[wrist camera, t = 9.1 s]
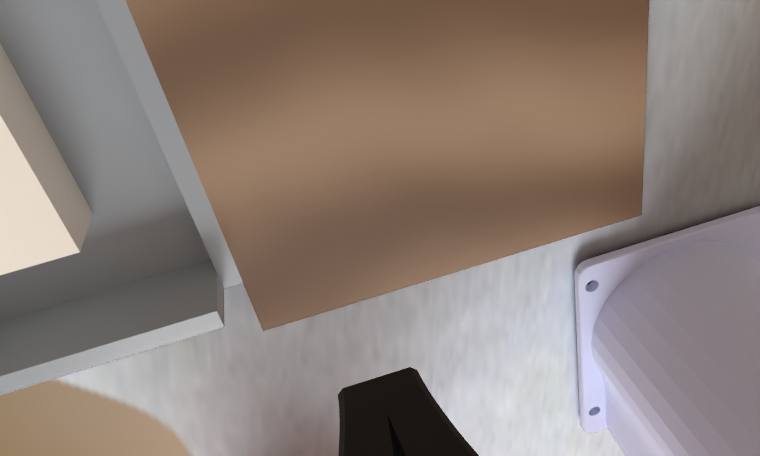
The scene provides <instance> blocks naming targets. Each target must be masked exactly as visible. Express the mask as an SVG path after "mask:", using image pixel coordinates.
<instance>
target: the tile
mask: <svg viewBox="0 0 760 456" xmlns="http://www.w3.org/2000/svg"><path fill="white" fill-rule="evenodd" d="M92 215H93V213H92V211H91V209H90V207H89V205H88V203H87V202H86V200H85V198H84V196H83V194H82V192H81V191H80V189H79V187H78V185H77V183H76V181H75V180H74V178H73V176H72V174H71V172H70V170H69V168H68V167H67V165H66V163H65V161H64V159H63V157H62V156H61V154H60V152H59V150H58V148H57V146H56V145H55V143H54V141H53V139H52V137H51V135H50V134H49V132H48V130H47V128H46V126H45V124H44V122H43V121H42V119H41V117H40V115H39V113H38V111H37V110H36V108H35V106H34V104H33V102H32V100H31V99H30V97H29V95H28V93H27V91H26V89H25V88H24V86H23V84H22V82H21V80H20V78H19V76H18V75H17V73H16V71H15V69H14V67H13V65H12V64H11V62H10V60H9V58H8V56H7V54H6V53H5V51H4V49H3V47H2V45H1V43H0V275H3V274H7V273H10V272H13V271H17V270H20V269H24V268H27V267H31V266H34V265H38V264H41V263H45V262H48V261H51V260H55V259H58V258H62V257H65V256H69V255H72V254H76V253H79V252H80V251H81V248H82V245H83V242H84V239H85V236H86V233H87V230H88V227H89V224H90V221H91V218H92Z"/></svg>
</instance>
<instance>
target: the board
mask: <svg viewBox="0 0 760 456" xmlns="http://www.w3.org/2000/svg"><path fill="white" fill-rule="evenodd" d="M125 1H126V3H127V5H128V8H129V10H130V13H131V15H132V17H133V20H134V22H135V25H136V27H137V29H138V32H139V34H140V37H141V39H142V41H143V44H144V46H145V49H146V51H147V53H148V56H149V58H150V61H151V63H152V65H153V68H154V70H155V73H156V75H157V77H158V80H159V82H160V85H161V87H162V89H163V92H164V94H165V96H166V99H167V101H168V104H169V106H170V108H171V111H172V113H173V116H174V118H175V120H176V123H177V125H178V128H179V130H180V132H181V135H182V137H183V140H184V142H185V144H186V147H187V149H188V152H189V154H190V156H191V159H192V161H193V164H194V166H195V168H196V171H197V173H198V176H199V178H200V180H201V183H202V185H203V188H204V190H205V192H206V195H207V197H208V200H209V202H210V204H211V207H212V209H213V212H214V214H215V216H216V219H217V221H218V224H219V226H220V228H221V231H222V233H223V236H224V238H225V240H226V243H227V245H228V248H229V250H230V252H231V255H232V257H233V260H234V262H235V264H236V267H237V269H238V272H239V274H240V276H241V279H242V281H243V284H244V286H245V288H246V291H247V293H248V296H249V298H250V300H251V303H252V305H253V308H254V310H255V312H256V315H257V317H258V320H259V322H260V324H261V327H262V329H263V331H265V330H268V329H271V328H274V327H278V326H281V325H284V324H288V323H291V322H294V321H297V320H301V319H304V318H307V317H310V316H314V315H317V314H320V313H323V312H327V311H330V310H333V309H336V308H340V307H343V306H346V305H350V304H353V303H356V302H359V301H363V300H366V299H369V298H372V297H376V296H379V295H382V294H385V293H389V292H392V291H395V290H398V289H402V288H405V287H408V286H412V285H415V284H418V283H421V282H425V281H428V280H431V279H434V278H438V277H441V276H444V275H447V274H451V273H454V272H457V271H460V270H464V269H467V268H470V267H473V266H477V265H480V264H483V263H487V262H490V261H493V260H496V259H500V258H503V257H506V256H509V255H513V254H516V253H519V252H522V251H526V250H529V249H532V248H535V247H539V246H542V245H545V244H549V243H552V242H555V241H558V240H562V239H565V238H568V237H571V236H575V235H578V234H581V233H584V232H588V231H591V230H594V229H597V228H601V227H604V226H607V225H611V224H614V223H617V222H620V221H624V220H627V219H630V218H633V217H637V216H640V215H642V192H643V163H644V134H645V104H646V75H647V46H648V17H649V0H125Z"/></svg>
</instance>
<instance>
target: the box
mask: <svg viewBox="0 0 760 456" xmlns="http://www.w3.org/2000/svg"><path fill="white" fill-rule="evenodd" d="M0 43H1V45H2V47H3V49H4V51H5V53H6V54H7V56H8V58H9V60H10V62H11V64H12V65H13V67H14V69H15V71H16V73H17V75H18V76H19V78H20V80H21V82H22V84H23V86H24V88H25V89H26V91H27V93H28V95H29V97H30V99H31V100H32V102H33V104H34V106H35V108H36V110H37V111H38V113H39V115H40V117H41V119H42V121H43V122H44V124H45V126H46V128H47V130H48V132H49V134H50V135H51V137H52V139H53V141H54V143H55V145H56V146H57V148H58V150H59V152H60V154H61V156H62V157H63V159H64V161H65V163H66V165H67V167H68V168H69V170H70V172H71V174H72V176H73V178H74V180H75V181H76V183H77V185H78V187H79V189H80V191H81V192H82V194H83V196H84V198H85V200H86V202H87V203H88V205H89V207H90V209H91V211H92V213H93V215H92V218H91V221H90V224H89V227H88V230H87V233H86V236H85V239H84V242H83V245H82V248H81V251H80V252H79V253H76V254H72V255H69V256H65V257H62V258H58V259H55V260H51V261H48V262H45V263H41V264H38V265H34V266H31V267H27V268H24V269H20V270H17V271H13V272H10V273H7V274H3V275H0V395H3V394H6V393H9V392H13V391H16V390H19V389H22V388H25V387H29V386H32V385H36V384H39V383H42V382H46V381H49V380H52V379H55V378H59V377H62V376H65V375H69V374H72V373H75V372H78V371H82V370H85V369H88V368H91V367H95V366H98V365H101V364H105V363H108V362H111V361H114V360H118V359H121V358H124V357H128V356H131V355H134V354H137V353H141V352H144V351H147V350H151V349H154V348H157V347H160V346H164V345H167V344H170V343H174V342H177V341H180V340H183V339H187V338H190V337H193V336H197V335H200V334H203V333H206V332H210V331H213V330H216V329H220V328H223V327H224V288H227V287H231V286H234V285H237V284H241V283H243V281H242V279H241V276H240V274H239V272H238V269H237V267H236V264H235V262H234V260H233V257H232V255H231V252H230V250H229V248H228V245H227V243H226V240H225V238H224V236H223V233H222V231H221V228H220V226H219V224H218V221H217V219H216V216H215V214H214V212H213V209H212V207H211V204H210V202H209V200H208V197H207V195H206V192H205V190H204V188H203V185H202V183H201V180H200V178H199V176H198V173H197V171H196V168H195V166H194V164H193V161H192V159H191V156H190V154H189V152H188V149H187V147H186V144H185V142H184V140H183V137H182V135H181V132H180V130H179V128H178V125H177V123H176V120H175V118H174V116H173V113H172V111H171V108H170V106H169V104H168V101H167V99H166V96H165V94H164V92H163V89H162V87H161V85H160V82H159V80H158V77H157V75H156V73H155V70H154V68H153V65H152V63H151V61H150V58H149V56H148V53H147V51H146V49H145V46H144V44H143V41H142V39H141V37H140V34H139V32H138V29H137V27H136V25H135V22H134V20H133V17H132V15H131V13H130V10H129V8H128V5H127V3H126V1H125V0H0Z"/></svg>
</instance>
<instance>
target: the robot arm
mask: <svg viewBox="0 0 760 456" xmlns="http://www.w3.org/2000/svg"><path fill="white" fill-rule="evenodd" d="M574 276H575V301H576V326H577V352H578V377H579V403H580V424H581V427H582V428H583V430H584V431H585V432H586V433H590V434H592V433H596V432H599V431H602V430H605V429H608V430H609V432H610V433H611V435H612V436H613V438H614V439H615V441H616V442H617V444H618V445H619V447H620V448H621V450H622V451H623V453H624V454H625V456H760V206H758V207H754V208H751V209H748V210H745V211H742V212H738V213H735V214H732V215H729V216H725V217H722V218H719V219H716V220H712V221H709V222H706V223H703V224H700V225H696V226H693V227H690V228H687V229H683V230H680V231H677V232H674V233H671V234H667V235H664V236H661V237H658V238H654V239H651V240H648V241H645V242H642V243H638V244H635V245H632V246H629V247H625V248H622V249H619V250H616V251H612V252H609V253H606V254H603V255H600V256H596V257H593V258H590V259H587V260H585V261H583V262H581V263H580V264H579V265H578V266H577V268H576V269H575V274H574ZM592 280H593V281H592ZM590 281H592V282H591V283H590V284H589V285H587V284H588V282H590ZM338 399H339V410H340V439H339V456H479V455H478V454H477V453H476V452H475V451H474V449H473V448H472V447H471V446H470V445H469V444H468V442H467V441H466V440H465V439H464V438H463V437H462V435H461V434H460V433H459V432H458V430H457V429H456V428H455V427H454V425H453V424H452V423H451V421H450V420H449V419H448V417H447V416H446V415H445V413H444V412H443V411H442V409H441V408H440V407H439V405H438V404H437V402H436V401H435V399H434V398H433V396H432V395H431V393H430V392H429V390H428V389H427V387H426V385H425V384H424V382H423V380H422V379H421V377H420V375H419V373H418V371H417V370H416V369H413V368H411V367H409V368H406V369H403V370H400V371H396V372H393V373H390V374H387V375H384V376H381V377H377V378H374V379H371V380H368V381H365V382H362V383H358V384H355V385H352V386H349V387H346V388H343V389H342V390H341V392H340V393H339V394H338Z"/></svg>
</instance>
